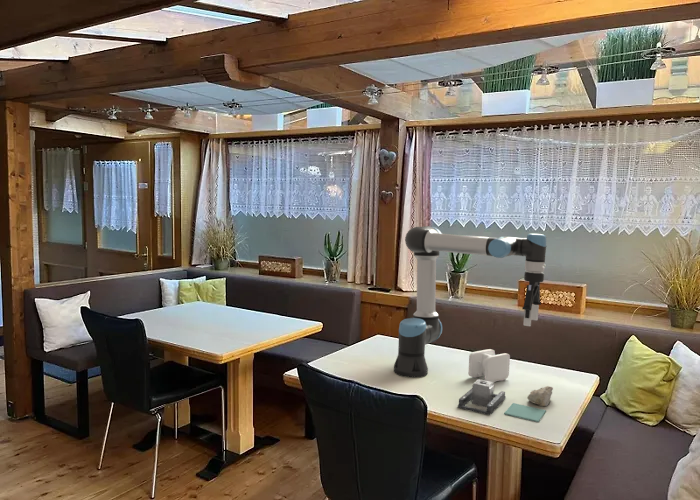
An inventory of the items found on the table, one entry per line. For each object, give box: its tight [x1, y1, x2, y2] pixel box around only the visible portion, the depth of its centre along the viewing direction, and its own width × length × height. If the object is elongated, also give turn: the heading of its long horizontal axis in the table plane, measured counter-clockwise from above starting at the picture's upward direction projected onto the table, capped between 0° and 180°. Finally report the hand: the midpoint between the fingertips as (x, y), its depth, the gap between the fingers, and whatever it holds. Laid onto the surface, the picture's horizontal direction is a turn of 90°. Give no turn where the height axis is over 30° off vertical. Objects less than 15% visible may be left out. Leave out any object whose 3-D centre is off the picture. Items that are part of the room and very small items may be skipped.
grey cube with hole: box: [471, 378, 495, 408], centre depth 200 cm, size 7×6×8 cm
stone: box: [526, 385, 554, 407], centre depth 204 cm, size 8×12×10 cm, turn 139°
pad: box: [503, 402, 547, 423], centre depth 192 cm, size 12×12×1 cm
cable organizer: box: [468, 348, 511, 384], centre depth 229 cm, size 15×11×12 cm
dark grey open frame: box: [457, 388, 507, 416], centre depth 201 cm, size 12×20×3 cm, turn 148°
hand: (530, 322), depth 217 cm, fingers open, 13 cm apart
